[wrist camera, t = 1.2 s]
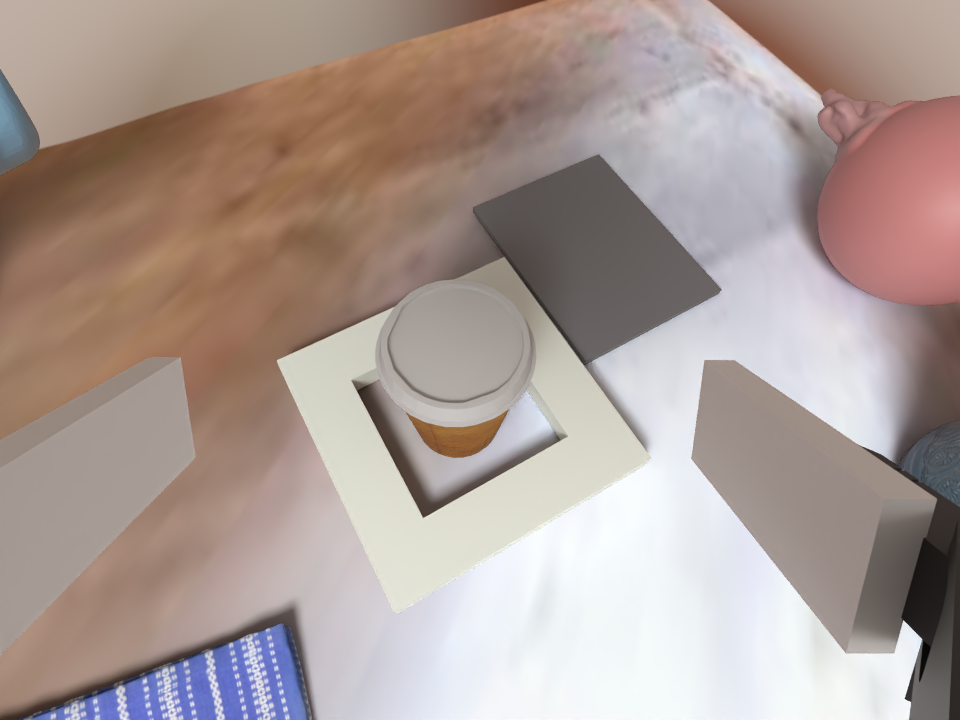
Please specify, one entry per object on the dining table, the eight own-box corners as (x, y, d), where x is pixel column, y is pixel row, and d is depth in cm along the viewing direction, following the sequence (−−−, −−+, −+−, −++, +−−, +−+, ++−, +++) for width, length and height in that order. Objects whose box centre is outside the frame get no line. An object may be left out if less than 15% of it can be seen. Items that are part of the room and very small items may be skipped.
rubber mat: (473, 212, 53) (473, 207, 52) (597, 159, 56) (598, 154, 56) (584, 364, 46) (586, 361, 46) (718, 293, 50) (721, 289, 49)
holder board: (283, 372, 45) (276, 360, 43) (502, 270, 50) (504, 256, 48) (397, 614, 37) (393, 612, 36) (643, 466, 42) (651, 457, 41)
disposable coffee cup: (464, 340, 47) (463, 246, 36) (546, 423, 44) (573, 347, 33) (369, 412, 44) (338, 333, 33) (450, 507, 41) (445, 453, 30)
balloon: (832, 148, 58) (945, -9, 44) (999, 294, 50) (1199, 158, 37) (714, 203, 54) (798, 50, 41) (874, 370, 46) (1045, 250, 33)
